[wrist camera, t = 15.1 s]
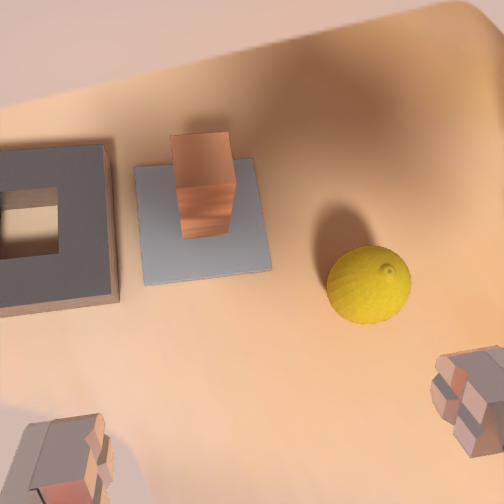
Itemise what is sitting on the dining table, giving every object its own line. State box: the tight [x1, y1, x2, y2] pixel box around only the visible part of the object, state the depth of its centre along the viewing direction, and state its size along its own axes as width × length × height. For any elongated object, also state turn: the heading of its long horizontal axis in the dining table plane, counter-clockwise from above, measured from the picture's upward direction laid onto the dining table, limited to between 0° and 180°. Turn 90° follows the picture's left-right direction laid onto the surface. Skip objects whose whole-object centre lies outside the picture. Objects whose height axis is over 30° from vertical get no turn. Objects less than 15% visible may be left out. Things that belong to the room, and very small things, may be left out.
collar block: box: [0, 144, 119, 318], centre depth 31 cm, size 12×12×3 cm
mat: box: [134, 158, 272, 286], centre depth 34 cm, size 10×10×1 cm
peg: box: [170, 132, 236, 240], centre depth 29 cm, size 4×4×9 cm
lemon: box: [326, 246, 411, 325], centre depth 30 cm, size 6×6×8 cm
